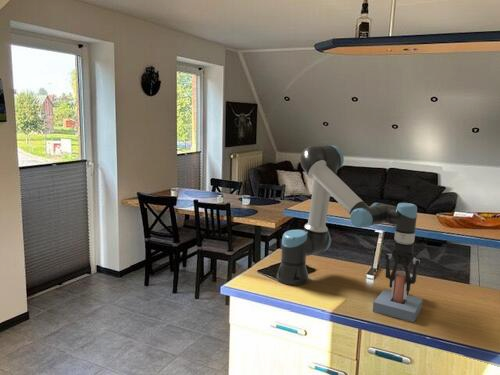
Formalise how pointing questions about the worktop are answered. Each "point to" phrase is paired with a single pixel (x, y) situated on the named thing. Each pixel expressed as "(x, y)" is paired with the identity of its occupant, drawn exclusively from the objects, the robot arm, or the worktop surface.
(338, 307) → the worktop surface
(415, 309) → the socket slab
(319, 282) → the worktop surface
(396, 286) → the peg
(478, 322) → the worktop surface
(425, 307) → the worktop surface
